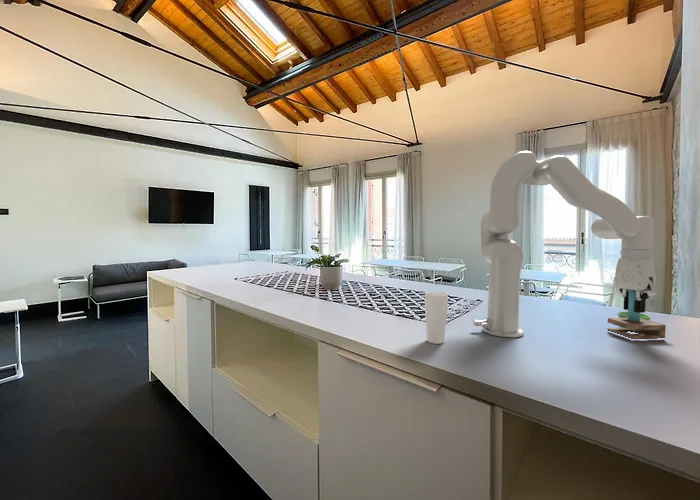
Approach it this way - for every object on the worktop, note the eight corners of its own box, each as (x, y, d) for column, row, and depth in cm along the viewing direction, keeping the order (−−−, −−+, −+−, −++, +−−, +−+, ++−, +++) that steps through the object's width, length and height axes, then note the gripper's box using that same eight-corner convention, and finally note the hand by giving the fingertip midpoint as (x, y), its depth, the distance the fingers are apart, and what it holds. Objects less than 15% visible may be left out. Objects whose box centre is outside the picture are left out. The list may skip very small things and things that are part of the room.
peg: (633, 321, 103) (635, 290, 103) (625, 319, 106) (626, 288, 106) (642, 321, 104) (643, 290, 103) (633, 318, 107) (634, 288, 106)
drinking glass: (447, 339, 102) (448, 292, 101) (446, 346, 95) (447, 296, 95) (425, 337, 104) (426, 291, 103) (423, 343, 98) (423, 294, 97)
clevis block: (632, 341, 101) (632, 325, 100) (607, 332, 110) (607, 318, 109) (664, 340, 101) (665, 325, 101) (637, 332, 110) (638, 317, 110)
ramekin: (636, 323, 122) (637, 311, 121) (657, 330, 113) (657, 318, 112) (611, 322, 123) (611, 311, 122) (629, 329, 114) (630, 317, 113)
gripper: (603, 253, 112) (601, 305, 113) (650, 256, 96) (648, 317, 97) (623, 253, 112) (622, 305, 113) (674, 256, 96) (671, 317, 97)
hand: (634, 310), depth 105 cm, fingers closed on peg, 3 cm apart
